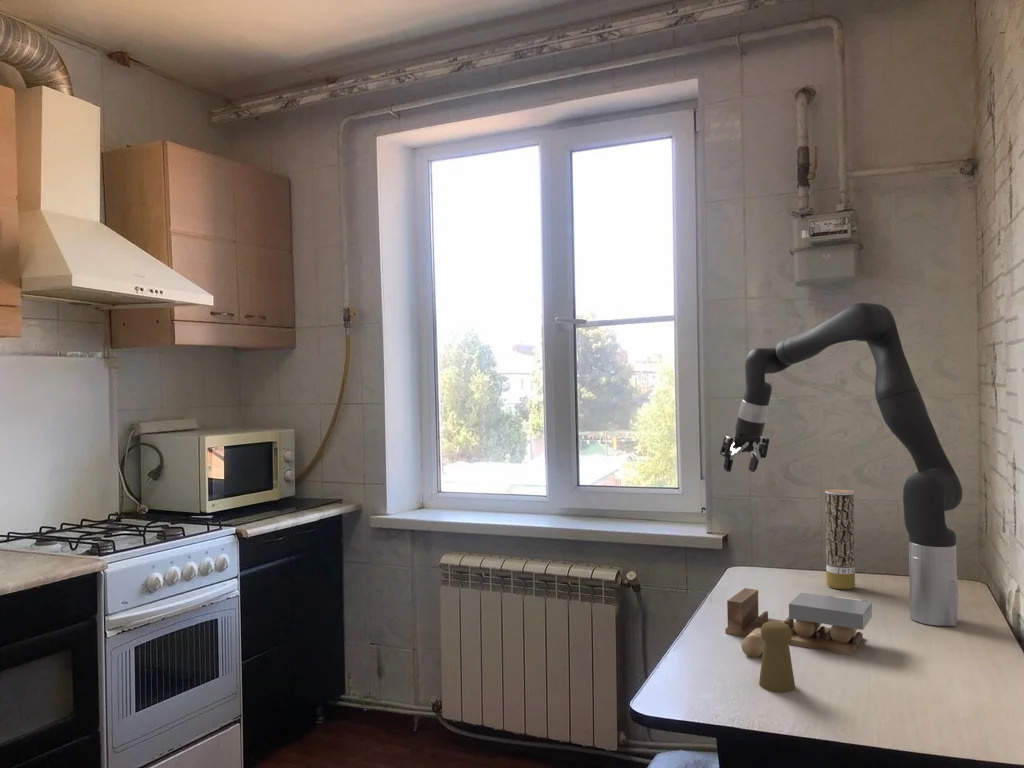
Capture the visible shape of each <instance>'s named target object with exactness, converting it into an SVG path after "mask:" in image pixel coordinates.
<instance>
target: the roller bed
mask: <svg viewBox="0 0 1024 768" xmlns="http://www.w3.org/2000/svg"><path fill="white" fill-rule="evenodd" d="M726 601H727V603H726V604H727V605H726V607H727V609H726V610H727V613H726V614H727V616H726V617H727V626H726V627H725V628H724V630H725V631H724V632H725V634H729V635H733V636H739V637H744V638H746V637H747V636H748V635H749V634H750V633H751V632H752V631H754V630H755V629H757V628H761V627H762V625H763V624H764V623H766V622H770V621H776V622H782V623H785V624H787V625H788V626H789V627H790V629H791V631H792V638H791V641H790V642H789V646H790V645H791V646H797V647H802V646H803V648H807V647H809V648H808V649H814V650H820V651H826V652H832V653H836V654H843V655H849V656H852V655H853V654H854V652H855V650H856V649H857V647H859V646H858V645H860V643H861V641H862V640H863V639H864V638H863V637H864V636H863V635H864V634H863V632H860V631H857V630H858V629H854V628H847V627H841V626H835V625H831V627H826V626H823V625H822V623H815V622H809V621H803V620H796V619H790V618H789V616H788V617H786V619H785V620H782V619H775V618H769V612H768V611H766V610H765V611H763V612H762V613H761V614H760V615H759V589H753V588H748V587H747V588H746V587H744V588H743V589H741V590H740V591H739V592H737V593H735V594H734V595H733V596H732V597H730V598H729V599H728V600H726ZM794 620H795V621H794ZM821 625H822V626H821Z"/></svg>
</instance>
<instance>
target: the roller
mask: <svg viewBox="0 0 1024 768" xmlns="http://www.w3.org/2000/svg"><path fill="white" fill-rule="evenodd" d="M763 647H764V640H763V639H762V636H761V628H757V629H755V630H754V631H752V632H751V633H750V634H749V635H748V636H747V637H744V638H743V639H742V641H741V650H742V652H743V653H744V655H745V656H747V657H748V658H753V657H754V658H755V659H756V658H759V657H760V656H762V655H763Z"/></svg>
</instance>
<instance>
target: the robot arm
mask: <svg viewBox="0 0 1024 768" xmlns="http://www.w3.org/2000/svg"><path fill="white" fill-rule="evenodd" d="M849 341H859V342H866V343H867V345H868V348H869V350H870V352H871V354H872V357H873V360H874V363H875V364H874V365H875V379H874V380H875V381H874V382H875V383H874V396H875V399H876V402H877V405H878V408H879V411H880V413H881V416H882V419H883V421H884V423H885V424H886V426H887V428H888V429H889V430H890V431H891V432H892V434H893V435H894V436H895V437H896V438H897V439H898V441H900V443H901V444H902V445H903V446H904V447H905V449H906V450H907V451H908V453H909V454H910V456H911V458H912V460H913V462H914V464H915V467H916V471H917V472H915V473H912V474H910V475H909V476H908V477H907V478H906V480H905V481H904V484H903V490H902V498H903V499H902V503H903V517H904V519H903V520H904V527H905V529H906V531H907V534H908V554H909V555H908V559H909V561H908V562H909V564H908V565H909V567H908V568H909V615H910V617H909V618H910V619H911V620H912V621H915V622H918V623H919V624H920V623H921V624H924V625H928V626H930V625H931V626H936V627H937V626H939V627H957V625H958V622H959V577H958V575H957V573H958V572H957V570H958V569H957V568H958V567H957V566H958V565H957V534H956V532H955V530H953V529H951V528H949V527H948V526H947V524H946V515H945V514H946V513H945V512H947V511H951V510H954V509H956V508H958V506H959V505H960V504H961V501H962V499H963V488H962V487H963V486H962V485H961V481H960V479H959V477H958V475H957V473H956V472H955V469H954V468H953V466H952V463H951V461H950V460H949V458H948V457H947V455H946V453H945V451H944V449H943V446H942V444H941V441H940V440H939V438H938V434H937V432H936V430H935V428H934V425H933V423H932V420H931V418H930V415H929V413H928V411H927V406H926V404H925V402H924V399H923V397H922V396H923V395H922V394H921V392H920V390H919V387H918V385H917V382H916V380H915V378H914V375H913V373H912V369H911V366H910V365H909V362H908V360H907V358H906V356H905V352H904V349H903V346H902V342H901V337H900V335H899V331H898V327H897V323H896V321H895V317H894V314H893V313H892V312H891V310H890V309H889V308H888V307H886V306H885V305H882V304H879V303H868V302H857V303H854V304H852V305H850V306H848V307H847V308H845V309H843V310H842V311H840V312H839V313H836V315H833V316H832V317H831V318H829V319H827V320H825V321H824V322H822V323H820V324H818V325H816V326H814V327H812V328H810V329H807V330H805V331H803V332H799V333H797V334H794V335H792V336H790V337H788V338H784V339H782V340H780V341H779V342H778V343H777V345H776V346H775V347H767V348H766V347H764V348H763V347H756V348H754V349H751V350H750V352H749V353H748V354H747V356H746V359H745V362H744V371H745V372H744V373H745V374H744V375H745V376H744V377H745V379H744V380H745V388H744V392H743V397H742V400H741V404H740V406H739V409H738V415H737V419H736V423H735V428H734V429H735V434H734V435H733V436H730V435H728V434H726V435H725V436H724V438H723V442H722V445H721V449H720V452H719V454H720V455H721V456H722V457H724V458H725V459H724V463H723V469H724V471H725V472H727V473H730V472H731V471H732V468H733V463H734V458H736V457H737V456H738V455H740V454H741V453H746V452H747V453H750V454H751V457H750V462H749V465H748V470H749V471H750V472H752V473H753V472H754V473H755V472H756V471H757V468H758V464H759V461H760V460H762V458H763V459H766V458H767V455H768V449H769V444H770V438H768V437H766V436H765V435H763V433H764V430H765V426H766V425H765V424H766V420H767V418H768V417H767V416H768V412H769V404H770V400H771V394H772V389H773V386H772V385H771V384H770V383H769V382H767V381H766V374H768V375H769V374H771V375H772V374H777V373H780V372H782V371H785V369H788V368H789V367H791V366H792V365H795V364H797V363H800V362H803V361H806V360H809V359H811V358H813V357H815V356H817V355H819V354H820V353H821V352H823V351H824V350H826V349H827V348H829V347H831V346H833V345H836V344H839V343H846V342H849Z"/></svg>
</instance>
